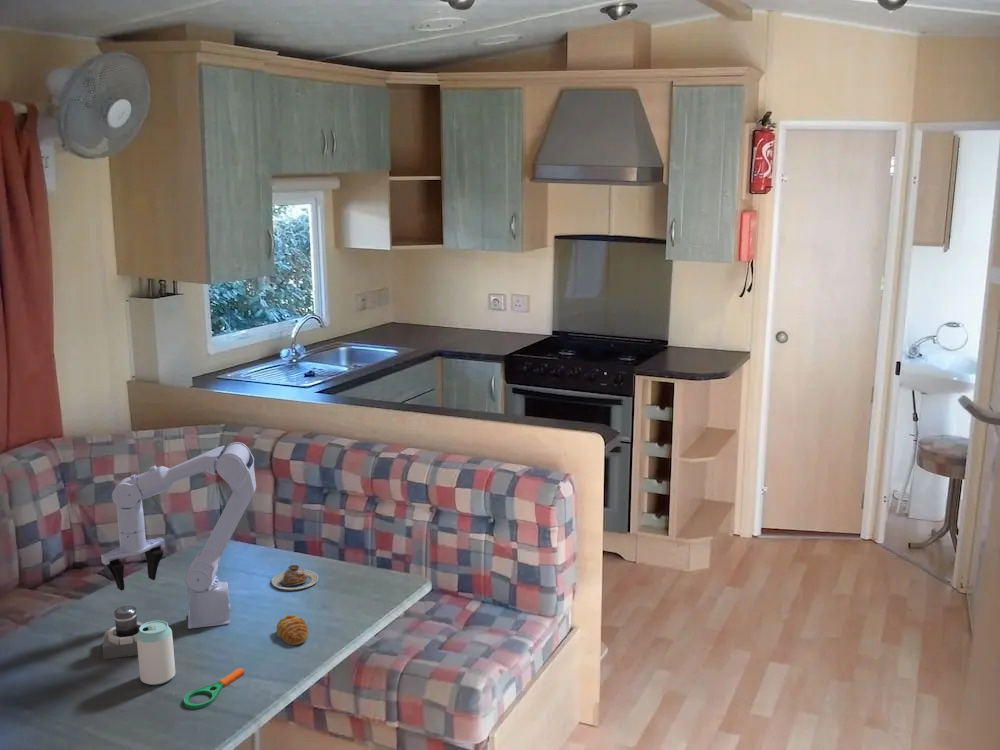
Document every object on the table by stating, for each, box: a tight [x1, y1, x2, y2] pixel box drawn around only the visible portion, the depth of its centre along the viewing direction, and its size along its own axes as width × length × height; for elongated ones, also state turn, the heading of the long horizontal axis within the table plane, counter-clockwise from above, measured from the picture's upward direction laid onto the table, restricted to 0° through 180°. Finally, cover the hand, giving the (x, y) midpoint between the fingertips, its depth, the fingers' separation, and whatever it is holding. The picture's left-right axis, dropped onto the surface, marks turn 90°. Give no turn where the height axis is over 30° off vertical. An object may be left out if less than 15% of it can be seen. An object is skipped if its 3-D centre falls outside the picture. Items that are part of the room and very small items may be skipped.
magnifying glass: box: [183, 667, 245, 710], centre depth 201 cm, size 15×6×2 cm, turn 151°
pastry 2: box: [271, 564, 319, 592], centre depth 251 cm, size 12×12×5 cm
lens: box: [113, 605, 138, 637], centre depth 217 cm, size 5×5×6 cm
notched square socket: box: [101, 621, 144, 660], centre depth 218 cm, size 10×8×4 cm
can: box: [137, 620, 176, 686], centre depth 204 cm, size 7×7×12 cm
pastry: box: [276, 614, 309, 646], centre depth 223 cm, size 9×7×4 cm
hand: (136, 583), depth 227 cm, fingers open, 7 cm apart
